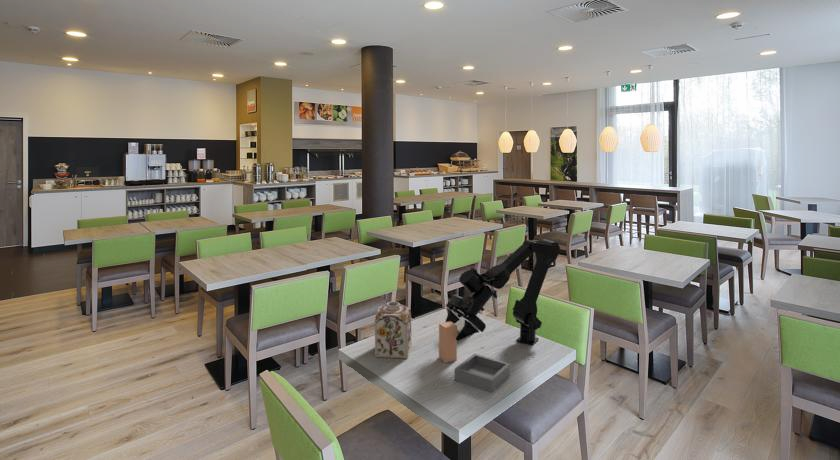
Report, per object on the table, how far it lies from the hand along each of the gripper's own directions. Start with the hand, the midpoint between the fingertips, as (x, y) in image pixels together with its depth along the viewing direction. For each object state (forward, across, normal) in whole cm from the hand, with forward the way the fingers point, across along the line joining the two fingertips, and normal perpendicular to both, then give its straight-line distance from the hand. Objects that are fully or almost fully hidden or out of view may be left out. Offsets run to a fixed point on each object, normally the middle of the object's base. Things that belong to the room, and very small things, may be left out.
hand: (449, 335), depth 159 cm
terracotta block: (+6, 0, +6) cm, 9 cm away
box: (+4, +16, +8) cm, 19 cm away
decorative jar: (+17, -14, -4) cm, 22 cm away
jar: (-7, -19, +19) cm, 28 cm away
